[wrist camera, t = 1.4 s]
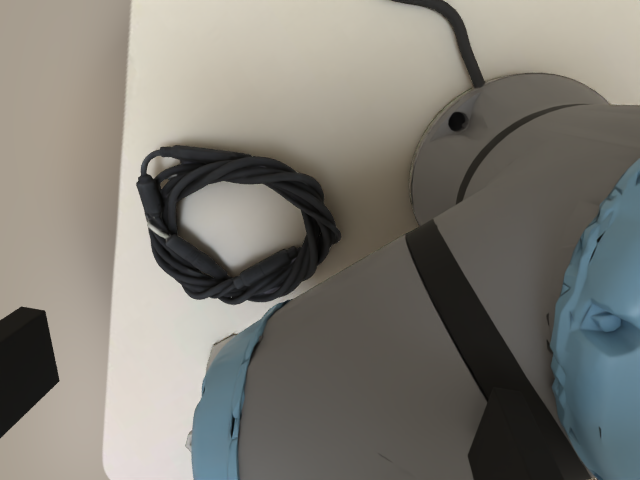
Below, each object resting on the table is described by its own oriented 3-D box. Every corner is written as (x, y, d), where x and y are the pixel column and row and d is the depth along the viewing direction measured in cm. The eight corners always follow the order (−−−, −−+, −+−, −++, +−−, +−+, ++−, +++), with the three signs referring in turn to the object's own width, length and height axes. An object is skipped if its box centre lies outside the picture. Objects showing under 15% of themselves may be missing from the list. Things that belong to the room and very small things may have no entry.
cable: (352, 161, 31) (350, 171, 27) (330, 308, 36) (326, 335, 32) (150, 134, 32) (120, 139, 28) (156, 281, 37) (131, 303, 33)
